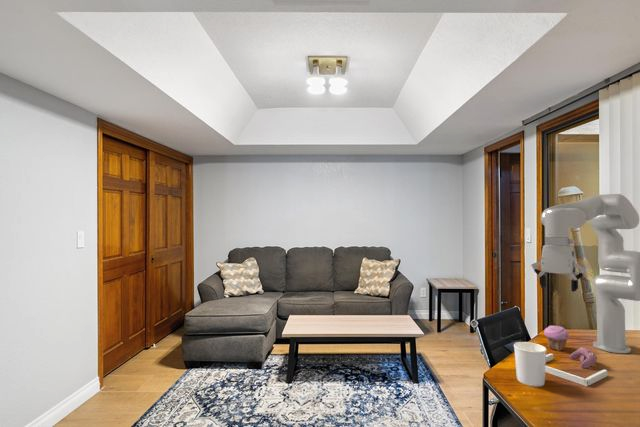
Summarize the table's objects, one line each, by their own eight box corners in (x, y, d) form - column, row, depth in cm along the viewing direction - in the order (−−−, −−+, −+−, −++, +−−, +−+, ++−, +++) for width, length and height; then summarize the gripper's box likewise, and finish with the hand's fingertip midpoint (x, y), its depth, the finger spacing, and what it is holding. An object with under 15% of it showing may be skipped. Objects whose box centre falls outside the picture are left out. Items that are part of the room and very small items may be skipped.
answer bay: (550, 358, 143) (550, 353, 143) (607, 375, 127) (607, 370, 127) (529, 366, 136) (529, 361, 136) (587, 386, 119) (586, 380, 119)
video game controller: (592, 373, 132) (602, 357, 132) (580, 367, 133) (589, 351, 133) (579, 363, 142) (587, 347, 142) (567, 357, 143) (576, 342, 142)
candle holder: (509, 375, 129) (508, 341, 129) (536, 375, 128) (536, 341, 128) (523, 388, 119) (523, 351, 119) (553, 388, 118) (552, 351, 119)
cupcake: (540, 347, 155) (540, 324, 155) (551, 344, 159) (550, 321, 159) (562, 354, 147) (562, 330, 147) (573, 350, 151) (573, 326, 152)
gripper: (588, 242, 126) (590, 291, 126) (535, 240, 139) (536, 284, 139) (582, 243, 121) (584, 294, 121) (527, 241, 134) (528, 287, 134)
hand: (558, 289), depth 130 cm, fingers open, 9 cm apart
